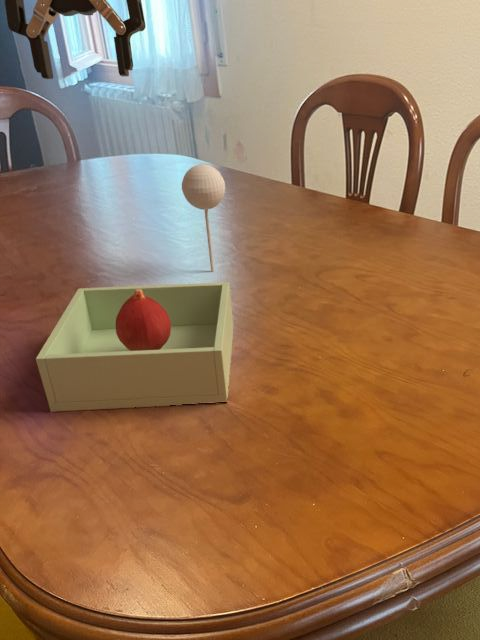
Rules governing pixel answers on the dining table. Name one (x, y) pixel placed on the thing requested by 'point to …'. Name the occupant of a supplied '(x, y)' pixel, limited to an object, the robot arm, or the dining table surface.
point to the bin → (139, 366)
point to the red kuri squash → (142, 323)
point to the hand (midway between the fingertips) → (86, 77)
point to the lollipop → (204, 193)
